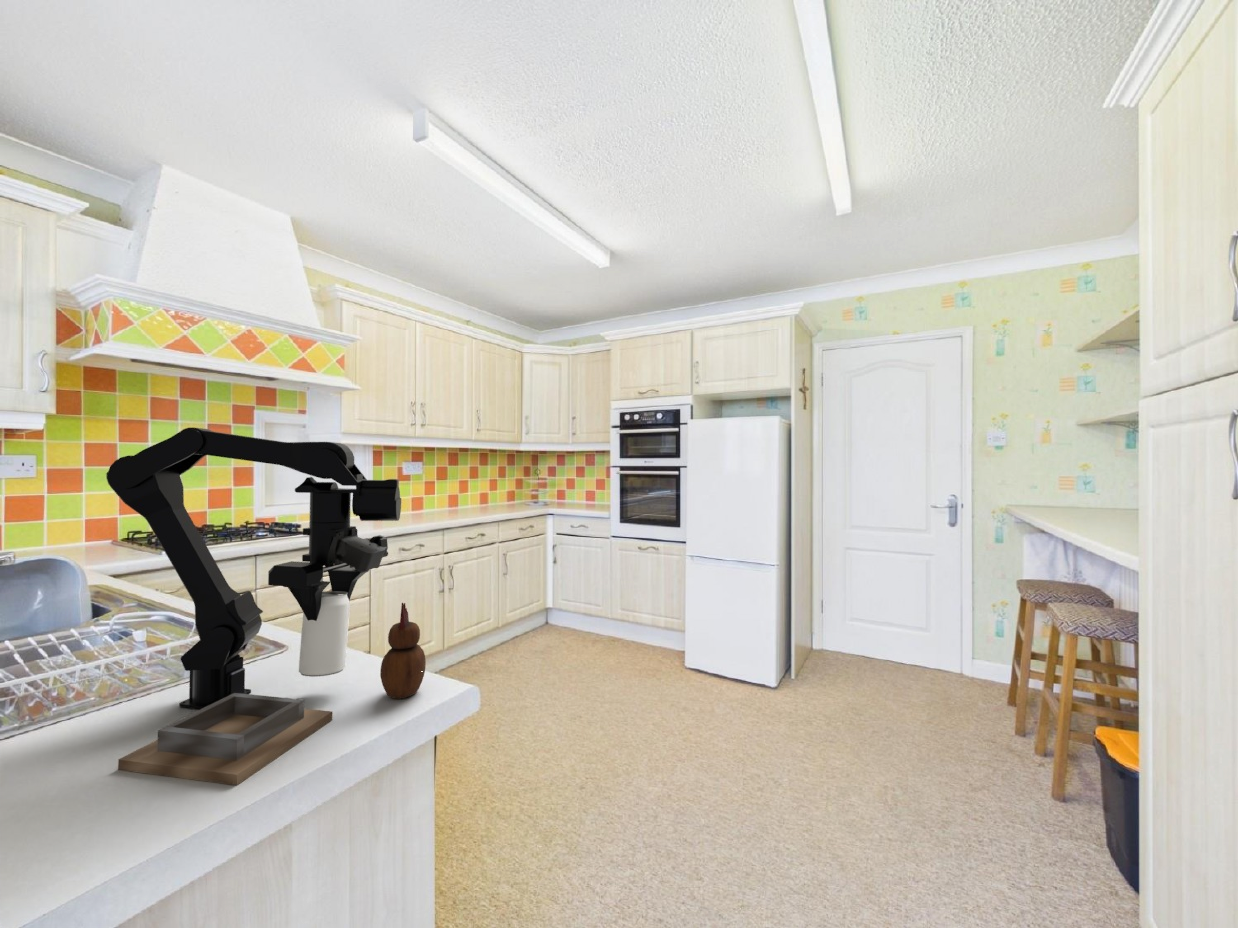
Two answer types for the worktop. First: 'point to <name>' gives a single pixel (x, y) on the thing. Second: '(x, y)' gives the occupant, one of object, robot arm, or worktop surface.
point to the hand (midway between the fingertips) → (328, 619)
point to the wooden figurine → (403, 659)
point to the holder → (227, 739)
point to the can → (325, 637)
